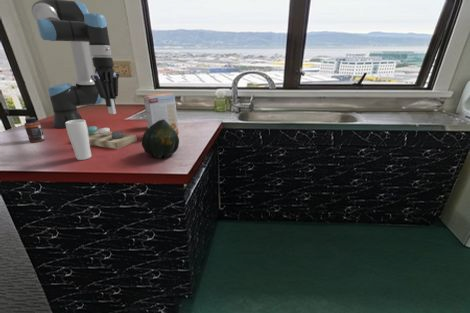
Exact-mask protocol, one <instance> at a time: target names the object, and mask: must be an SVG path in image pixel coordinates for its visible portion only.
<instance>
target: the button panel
mask: <svg viewBox="0 0 470 313" xmlns="http://www.w3.org/2000/svg"><path fill="white" fill-rule="evenodd" d="M112 132H113V131H110V134H106V135H99V133H98V131H97V132H95V133H88V135H89V143H90V146H94V147H95V146H97V147H103V148H107V149H108V148H109V149H114V150H119V149H121V148H124V147H126V146H129V145H131V144H134V143H136V142H137V141H138V140H137V135H136V134H130V133H123V134H124V137H122V138H112V134H111V133H112Z"/></svg>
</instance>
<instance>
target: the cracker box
mask: <svg viewBox="0 0 470 313" xmlns="http://www.w3.org/2000/svg"><path fill="white" fill-rule="evenodd" d="M143 103H144V110H145V115H146V123H147V129H148V128H149V127H150V126H152V125H153V124H154V123H156V122H157V121H159V120H163V119H164V120H165V121H166V122H167V123H168V124H169V125H170V126H171V127H172V128H173V129H174V130H175V131H176V133H177V135H179V127H178V126H179V123H178V115H177V114H178V113H177V107H176V96H175V93H172V92H167V93H158V94H157V93H156V94H147V95H143Z"/></svg>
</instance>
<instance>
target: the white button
mask: <svg viewBox="0 0 470 313" xmlns="http://www.w3.org/2000/svg"><path fill="white" fill-rule="evenodd" d="M97 129H98V133H99V135H106V134H110V132H111V130H110V127H103V128H102V127H101V128H97Z"/></svg>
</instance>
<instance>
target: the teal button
mask: <svg viewBox="0 0 470 313" xmlns="http://www.w3.org/2000/svg"><path fill="white" fill-rule="evenodd" d="M87 129H88V133H95V132H97V131H98V129H99V128H98V126H94V125H93V126H92V125H91V126H90V125H89V126H87Z"/></svg>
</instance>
